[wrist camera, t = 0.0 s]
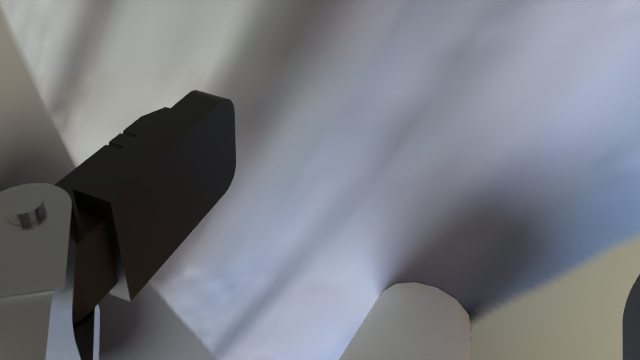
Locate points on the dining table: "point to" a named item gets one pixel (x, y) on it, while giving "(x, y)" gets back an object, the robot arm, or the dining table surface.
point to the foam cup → (412, 327)
